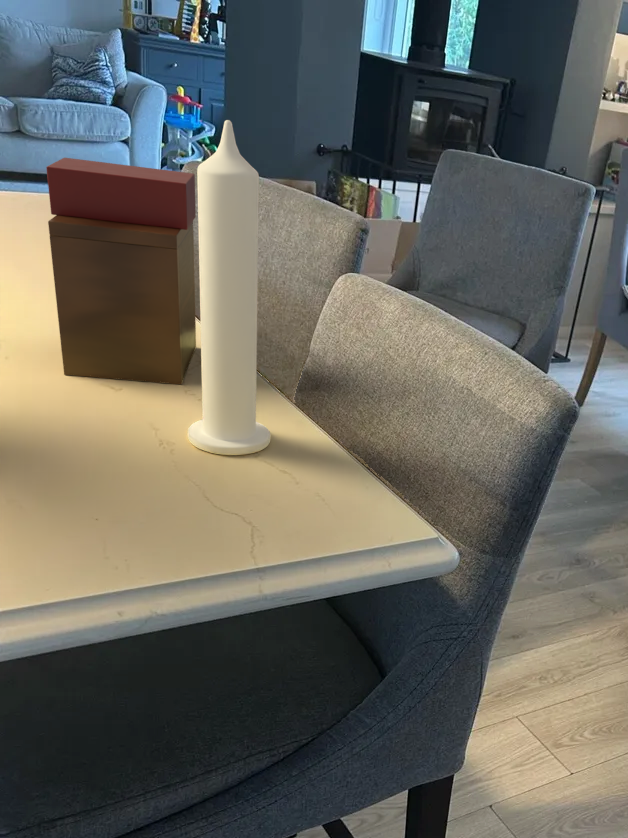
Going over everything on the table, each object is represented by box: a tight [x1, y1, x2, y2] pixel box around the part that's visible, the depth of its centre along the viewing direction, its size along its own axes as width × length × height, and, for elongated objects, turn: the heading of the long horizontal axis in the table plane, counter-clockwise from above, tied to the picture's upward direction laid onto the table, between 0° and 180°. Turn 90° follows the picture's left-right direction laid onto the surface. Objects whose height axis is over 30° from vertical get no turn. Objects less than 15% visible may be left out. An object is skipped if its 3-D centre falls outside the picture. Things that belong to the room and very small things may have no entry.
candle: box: [187, 119, 271, 456], centre depth 71 cm, size 7×7×25 cm
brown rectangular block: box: [47, 215, 197, 385], centre depth 88 cm, size 11×12×14 cm
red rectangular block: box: [46, 157, 197, 230], centre depth 83 cm, size 6×12×4 cm, turn 97°
